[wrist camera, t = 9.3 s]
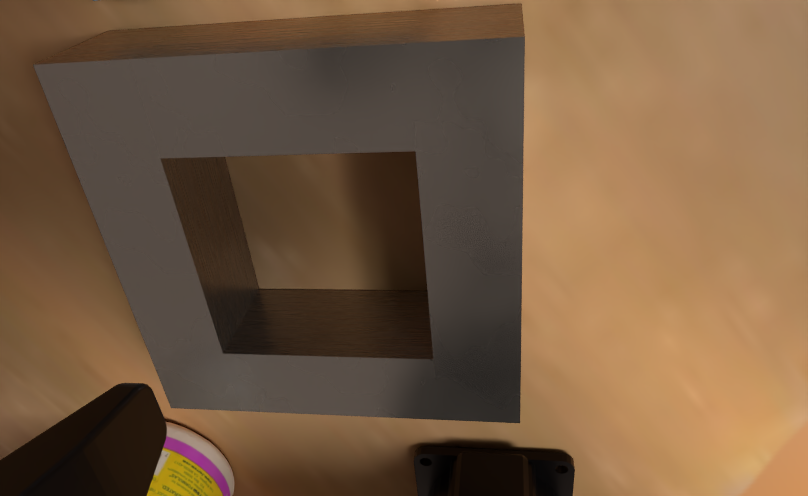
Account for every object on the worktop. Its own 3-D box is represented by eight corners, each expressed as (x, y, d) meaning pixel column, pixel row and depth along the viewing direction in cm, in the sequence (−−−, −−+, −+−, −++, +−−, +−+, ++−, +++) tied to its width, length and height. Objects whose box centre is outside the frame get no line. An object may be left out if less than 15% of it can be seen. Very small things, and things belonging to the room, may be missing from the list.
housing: (518, 349, 23) (520, 423, 20) (211, 342, 25) (171, 407, 22) (521, 3, 16) (524, 36, 13) (108, 30, 18) (32, 64, 15)
